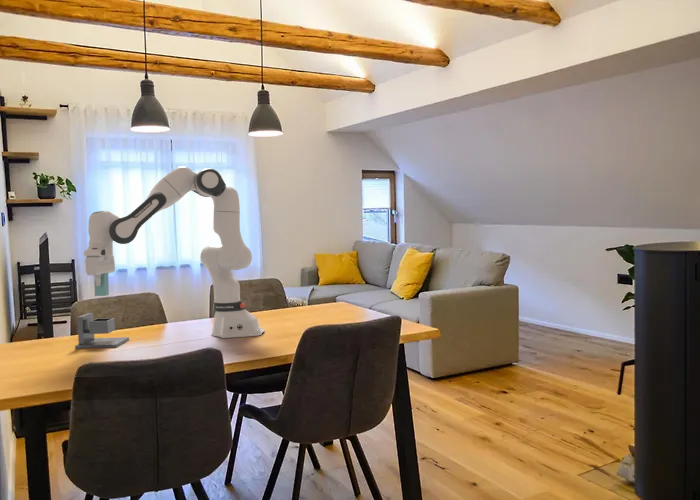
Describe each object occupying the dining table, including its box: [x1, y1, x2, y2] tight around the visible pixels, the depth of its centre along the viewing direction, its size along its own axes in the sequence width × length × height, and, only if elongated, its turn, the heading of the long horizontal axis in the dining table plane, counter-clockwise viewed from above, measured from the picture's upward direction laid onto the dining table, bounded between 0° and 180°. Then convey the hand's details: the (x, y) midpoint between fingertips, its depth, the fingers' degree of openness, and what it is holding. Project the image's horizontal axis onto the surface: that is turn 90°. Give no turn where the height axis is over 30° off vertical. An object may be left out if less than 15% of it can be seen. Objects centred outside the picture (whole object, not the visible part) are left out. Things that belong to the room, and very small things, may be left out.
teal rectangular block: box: [93, 273, 110, 297], centre depth 227 cm, size 4×4×9 cm
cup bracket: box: [74, 312, 130, 350], centre depth 229 cm, size 16×14×12 cm
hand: (101, 285), depth 227 cm, fingers closed on teal rectangular block, 4 cm apart
